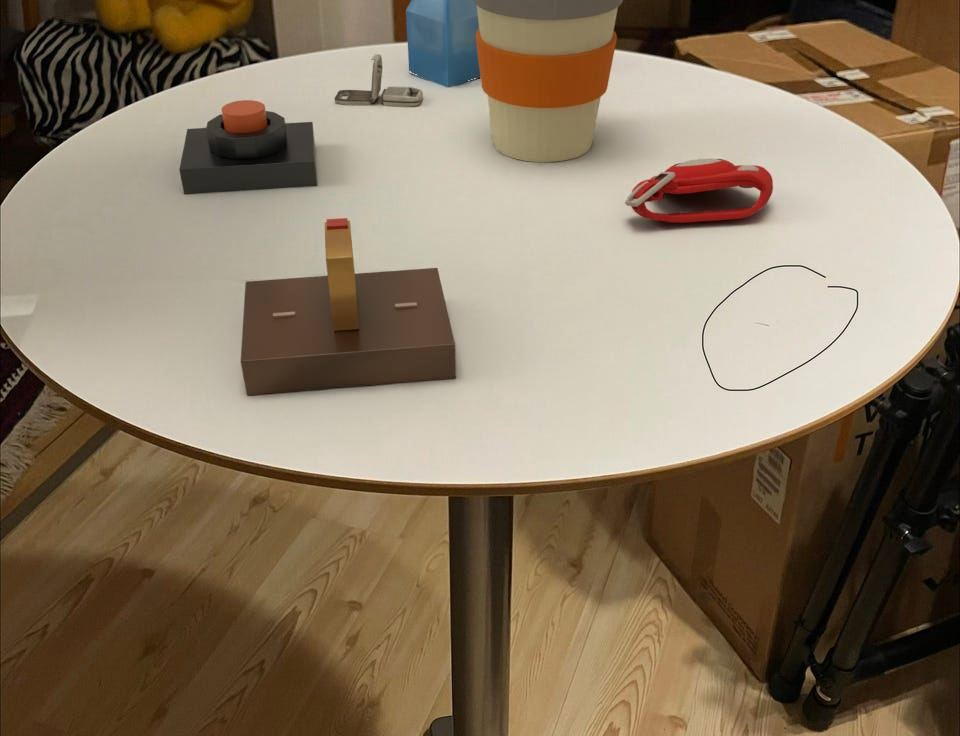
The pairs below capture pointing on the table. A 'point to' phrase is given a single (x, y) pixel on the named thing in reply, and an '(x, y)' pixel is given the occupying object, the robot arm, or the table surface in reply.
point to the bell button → (244, 116)
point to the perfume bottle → (443, 40)
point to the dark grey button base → (248, 157)
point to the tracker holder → (701, 188)
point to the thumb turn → (341, 274)
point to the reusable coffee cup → (545, 73)
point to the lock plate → (346, 333)
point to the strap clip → (388, 96)
